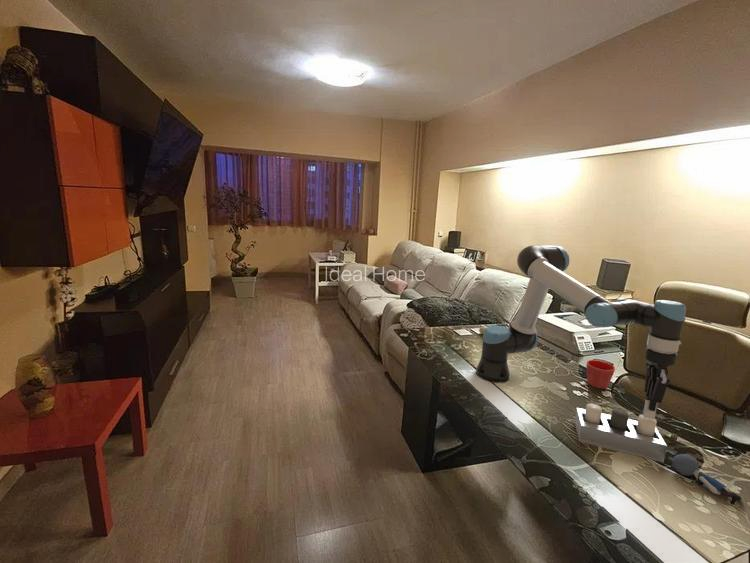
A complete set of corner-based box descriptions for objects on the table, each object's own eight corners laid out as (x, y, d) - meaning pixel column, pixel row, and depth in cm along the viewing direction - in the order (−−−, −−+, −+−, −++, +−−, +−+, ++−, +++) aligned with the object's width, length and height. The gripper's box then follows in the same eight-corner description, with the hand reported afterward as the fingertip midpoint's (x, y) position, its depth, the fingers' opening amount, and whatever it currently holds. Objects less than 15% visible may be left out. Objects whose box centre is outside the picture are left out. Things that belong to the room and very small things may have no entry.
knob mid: (610, 430, 113) (613, 414, 112) (607, 423, 117) (610, 407, 116) (627, 434, 111) (630, 418, 110) (623, 426, 115) (626, 411, 114)
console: (578, 441, 114) (581, 425, 113) (574, 422, 125) (576, 407, 124) (663, 462, 105) (667, 445, 104) (650, 440, 116) (654, 424, 115)
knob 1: (585, 424, 116) (587, 408, 115) (583, 417, 120) (585, 402, 119) (600, 428, 114) (603, 412, 113) (598, 421, 118) (600, 405, 117)
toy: (735, 508, 92) (673, 464, 105) (748, 490, 91) (683, 448, 104) (725, 510, 89) (662, 464, 102) (739, 491, 88) (673, 448, 101)
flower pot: (616, 391, 148) (620, 371, 147) (589, 388, 151) (592, 368, 149) (605, 380, 159) (608, 361, 157) (580, 377, 161) (583, 358, 159)
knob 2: (638, 437, 110) (641, 420, 109) (634, 429, 114) (637, 413, 113) (655, 441, 108) (659, 424, 107) (650, 433, 112) (654, 416, 111)
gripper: (685, 359, 98) (670, 432, 102) (669, 344, 110) (655, 410, 114) (653, 354, 101) (640, 425, 105) (640, 341, 113) (629, 404, 117)
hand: (648, 417), depth 110 cm, fingers closed
